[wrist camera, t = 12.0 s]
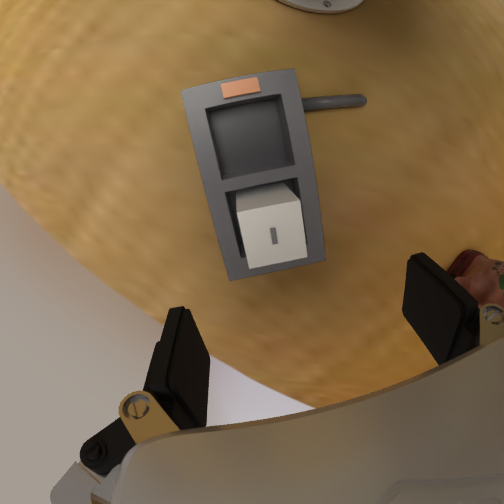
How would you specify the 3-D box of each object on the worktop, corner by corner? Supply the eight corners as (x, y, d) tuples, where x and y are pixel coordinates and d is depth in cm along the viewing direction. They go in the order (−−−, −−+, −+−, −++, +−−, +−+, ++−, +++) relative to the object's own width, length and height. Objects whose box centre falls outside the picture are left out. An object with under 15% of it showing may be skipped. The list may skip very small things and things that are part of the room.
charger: (236, 191, 25) (236, 213, 19) (282, 182, 25) (300, 200, 18) (245, 235, 27) (249, 269, 20) (289, 226, 27) (307, 257, 20)
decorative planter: (392, 308, 33) (445, 383, 20) (429, 222, 28) (510, 278, 15) (471, 314, 35) (515, 363, 23) (501, 251, 31) (556, 292, 18)
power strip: (187, 96, 21) (179, 89, 18) (357, 72, 21) (376, 64, 17) (230, 263, 28) (229, 283, 25) (377, 231, 28) (394, 246, 24)
